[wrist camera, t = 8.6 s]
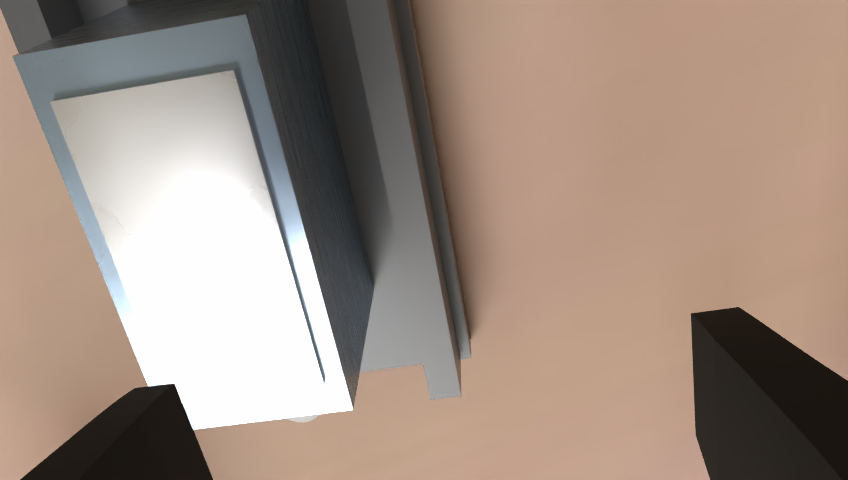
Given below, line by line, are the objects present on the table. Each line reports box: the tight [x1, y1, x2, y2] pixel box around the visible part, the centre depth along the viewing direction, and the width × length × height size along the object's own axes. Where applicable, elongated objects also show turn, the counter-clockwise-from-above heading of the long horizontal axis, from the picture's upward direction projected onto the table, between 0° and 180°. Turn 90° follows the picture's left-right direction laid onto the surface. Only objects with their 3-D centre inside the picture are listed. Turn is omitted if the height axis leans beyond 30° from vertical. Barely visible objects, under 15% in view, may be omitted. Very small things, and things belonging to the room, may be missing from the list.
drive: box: [13, 0, 374, 430], centre depth 16 cm, size 8×4×5 cm, turn 10°
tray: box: [0, 0, 471, 422], centre depth 18 cm, size 13×8×3 cm, turn 10°
